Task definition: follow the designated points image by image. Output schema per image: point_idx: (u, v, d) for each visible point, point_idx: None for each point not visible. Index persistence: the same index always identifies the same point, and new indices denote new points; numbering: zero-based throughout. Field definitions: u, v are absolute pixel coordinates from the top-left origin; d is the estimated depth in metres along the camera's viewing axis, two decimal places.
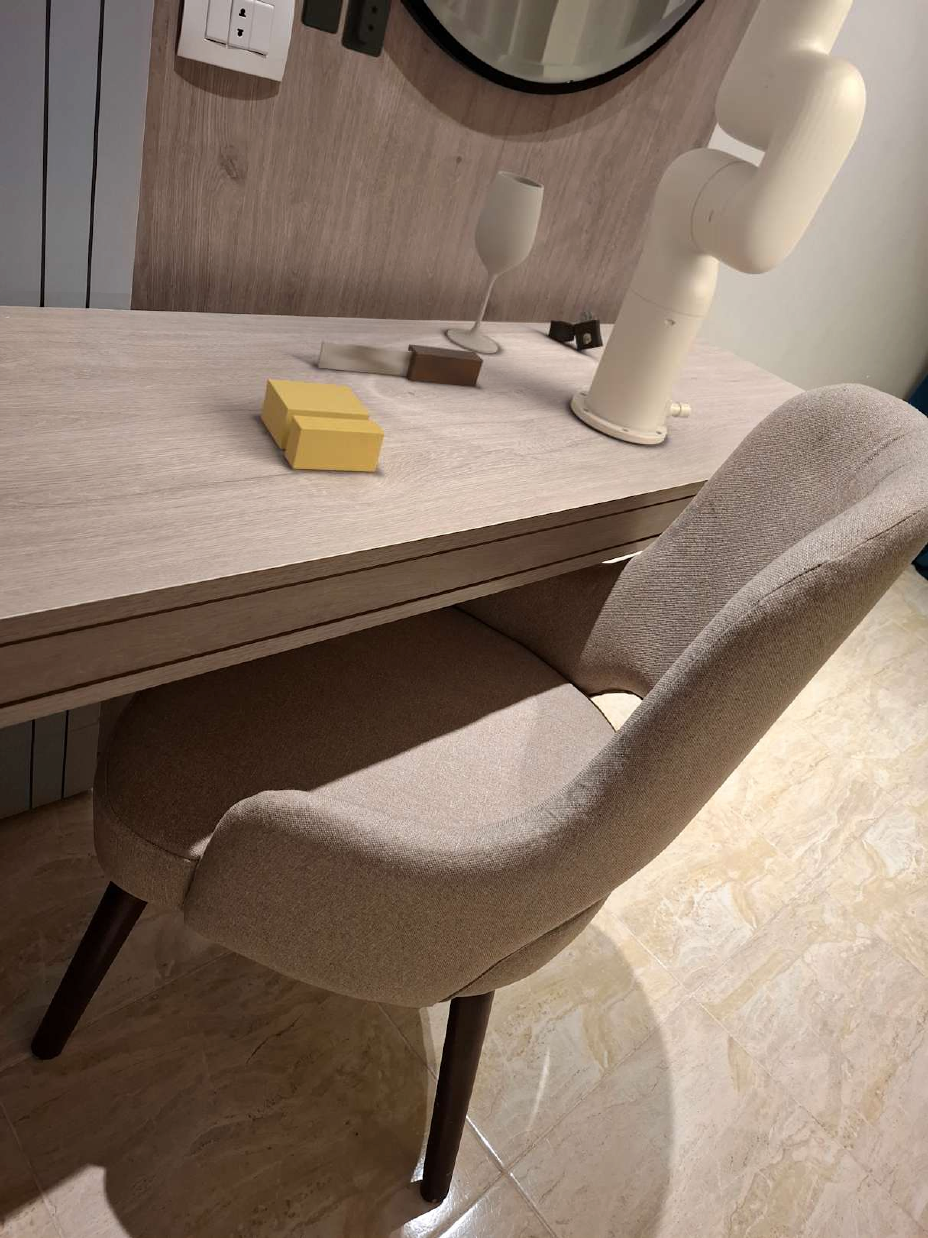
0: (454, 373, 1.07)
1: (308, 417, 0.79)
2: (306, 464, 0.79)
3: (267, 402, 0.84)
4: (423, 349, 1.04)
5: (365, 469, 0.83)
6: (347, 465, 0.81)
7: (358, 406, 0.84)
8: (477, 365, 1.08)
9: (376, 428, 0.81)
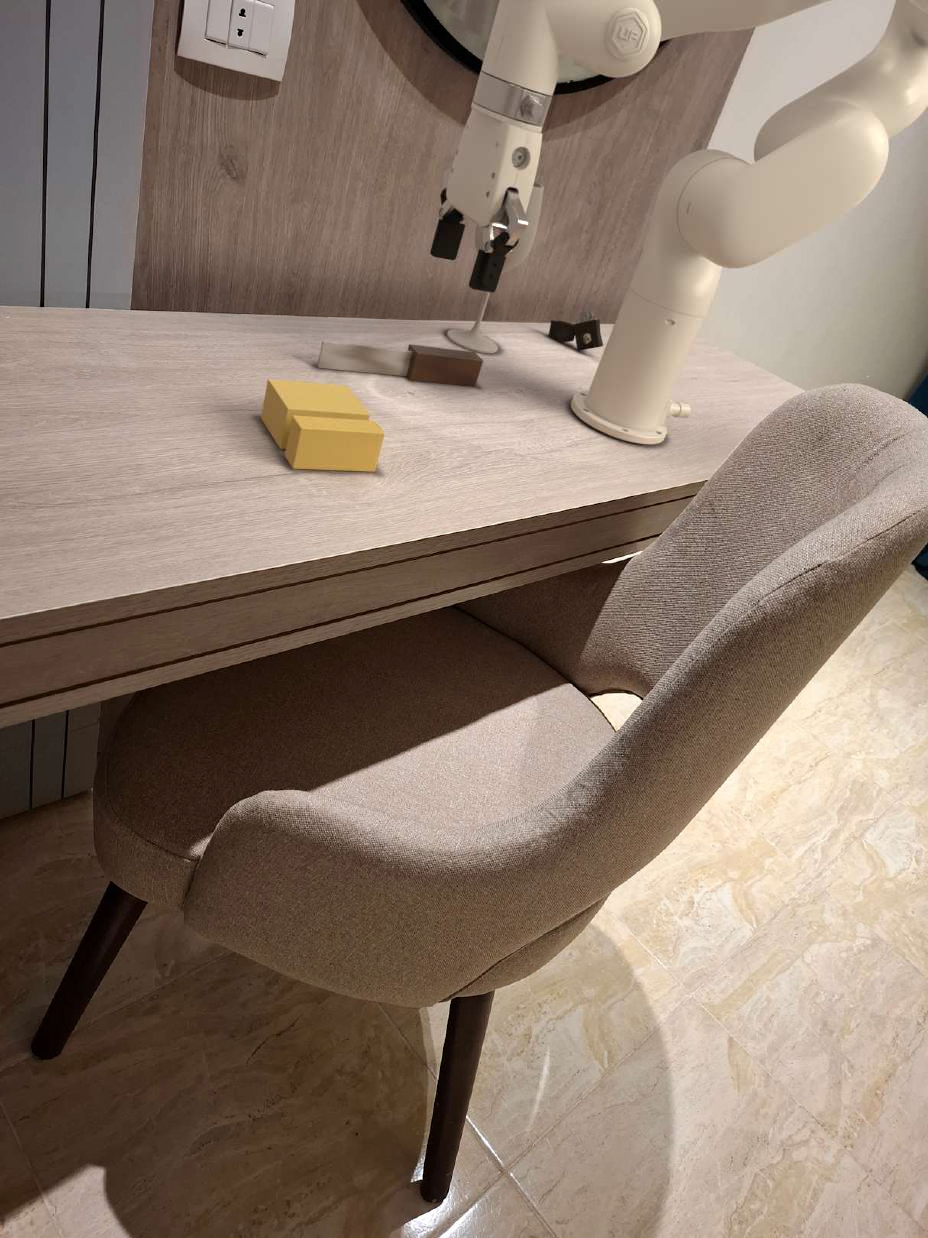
0: (454, 373, 1.07)
1: (308, 417, 0.79)
2: (306, 464, 0.79)
3: (267, 402, 0.84)
4: (423, 349, 1.04)
5: (365, 469, 0.83)
6: (347, 465, 0.81)
7: (358, 406, 0.84)
8: (477, 365, 1.08)
9: (376, 428, 0.81)
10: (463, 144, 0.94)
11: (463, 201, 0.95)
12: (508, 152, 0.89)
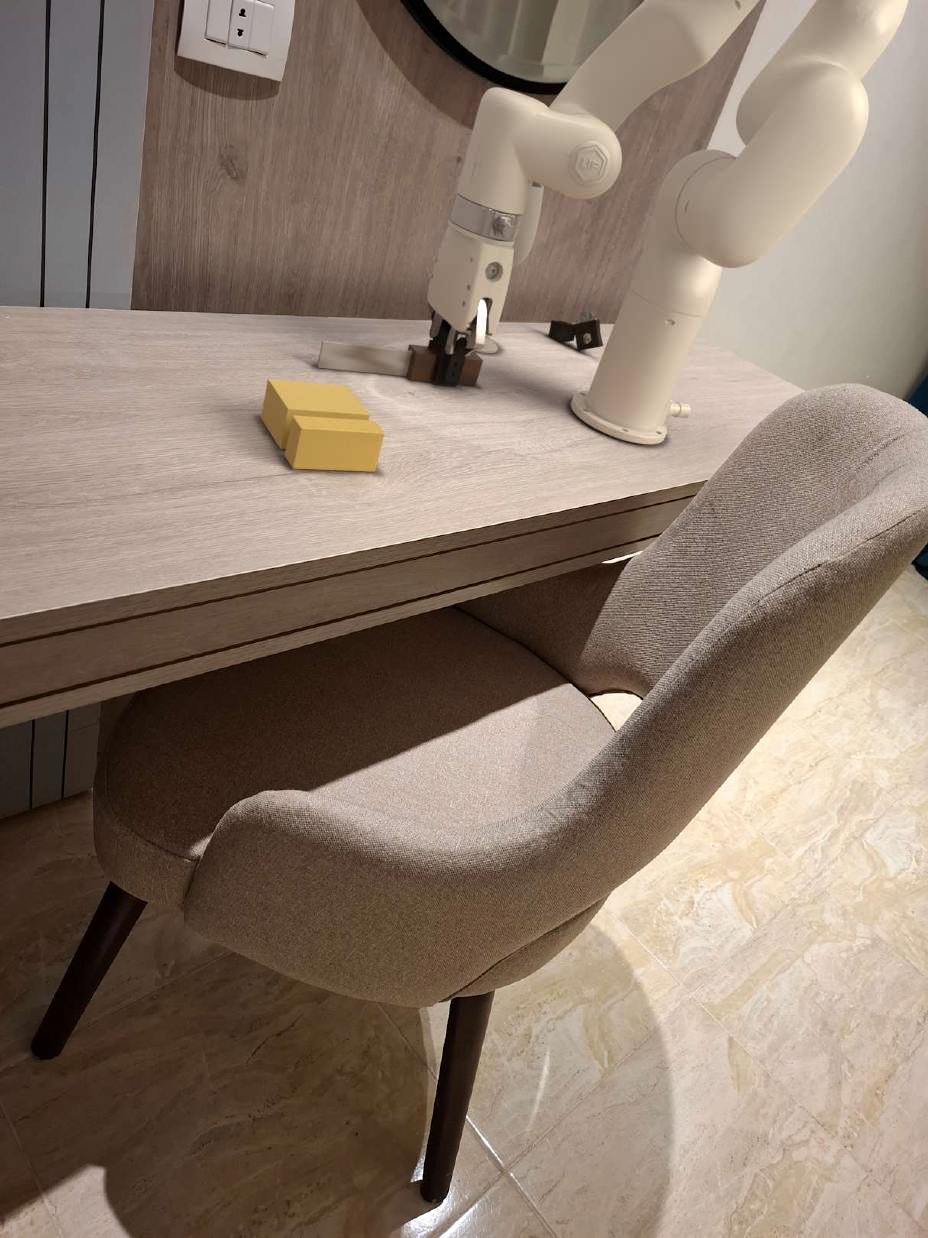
0: None
1: (308, 417, 0.79)
2: (306, 464, 0.79)
3: (267, 402, 0.84)
4: (422, 349, 1.04)
5: (365, 469, 0.83)
6: (347, 465, 0.81)
7: (358, 406, 0.84)
8: (477, 365, 1.08)
9: (376, 428, 0.81)
10: (442, 254, 1.01)
11: (442, 306, 1.02)
12: (482, 267, 0.96)
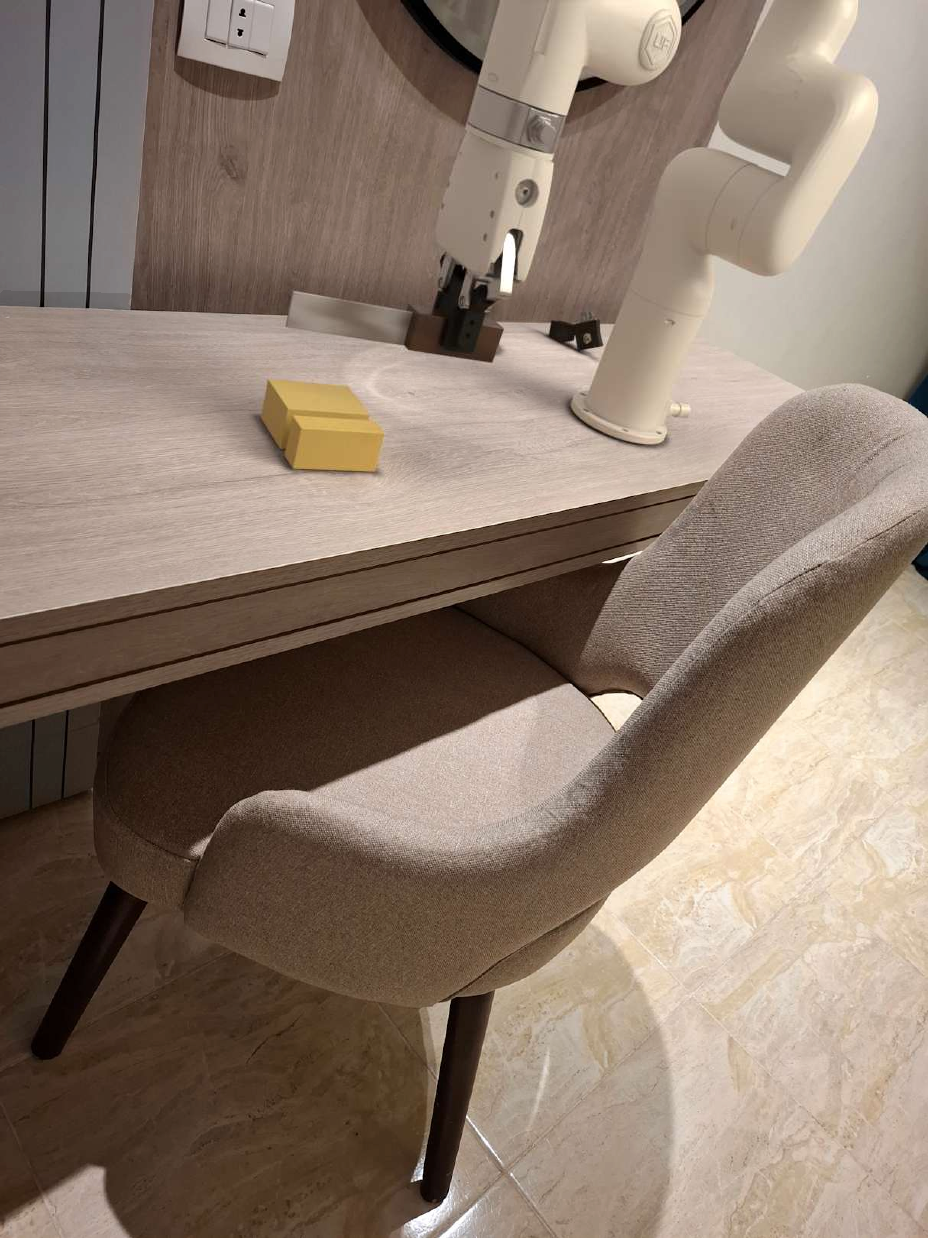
0: None
1: (308, 417, 0.79)
2: (306, 464, 0.79)
3: (267, 402, 0.84)
4: (426, 310, 0.80)
5: (365, 469, 0.83)
6: (347, 465, 0.81)
7: (358, 406, 0.84)
8: (496, 335, 0.83)
9: (376, 428, 0.81)
10: (456, 174, 0.76)
11: (455, 244, 0.77)
12: (511, 186, 0.71)
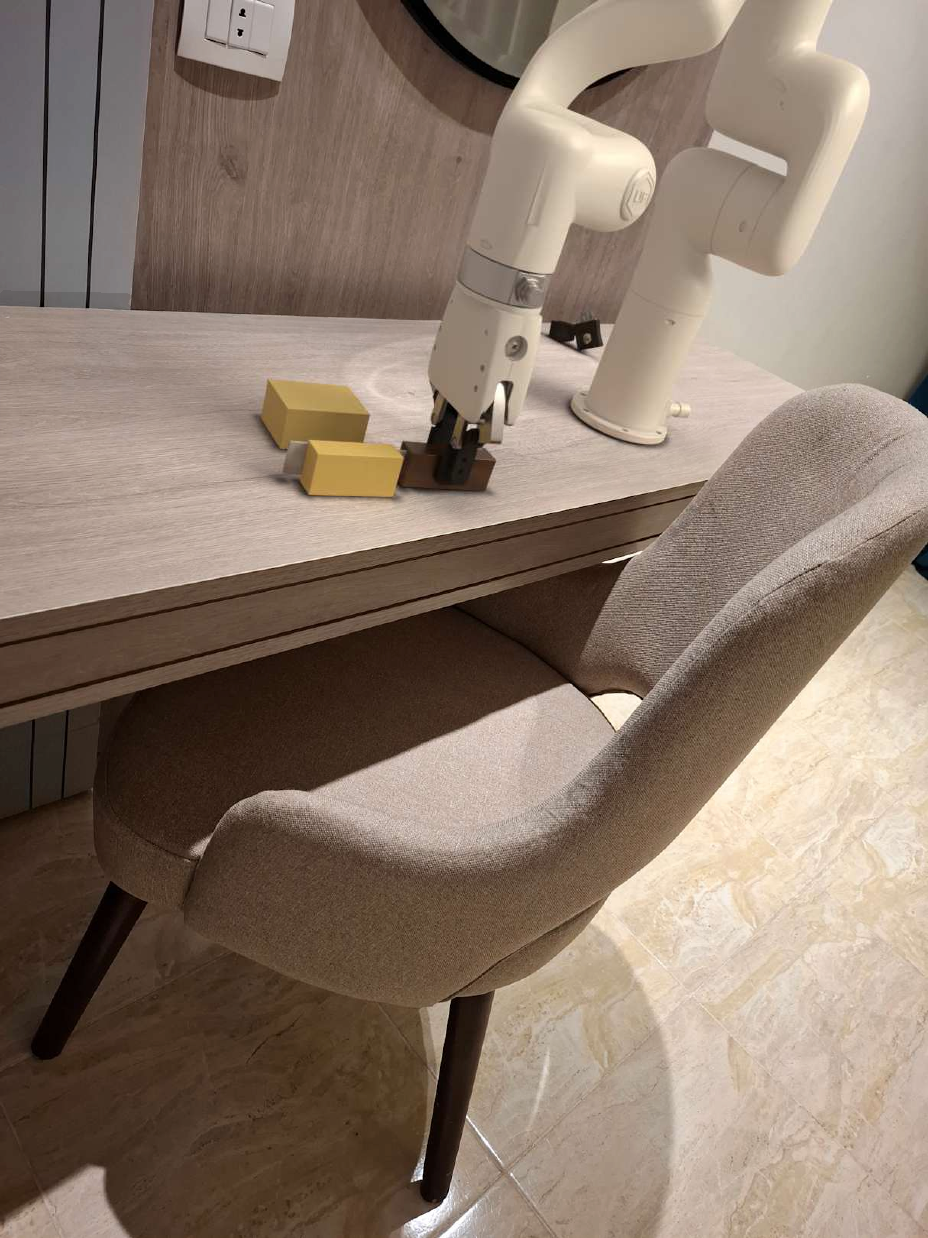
0: None
1: (325, 441, 0.76)
2: (322, 490, 0.77)
3: (267, 402, 0.84)
4: (420, 448, 0.81)
5: (383, 494, 0.80)
6: (365, 491, 0.79)
7: (358, 406, 0.84)
8: (488, 466, 0.85)
9: (395, 452, 0.78)
10: (447, 321, 0.78)
11: (447, 388, 0.79)
12: (500, 343, 0.73)
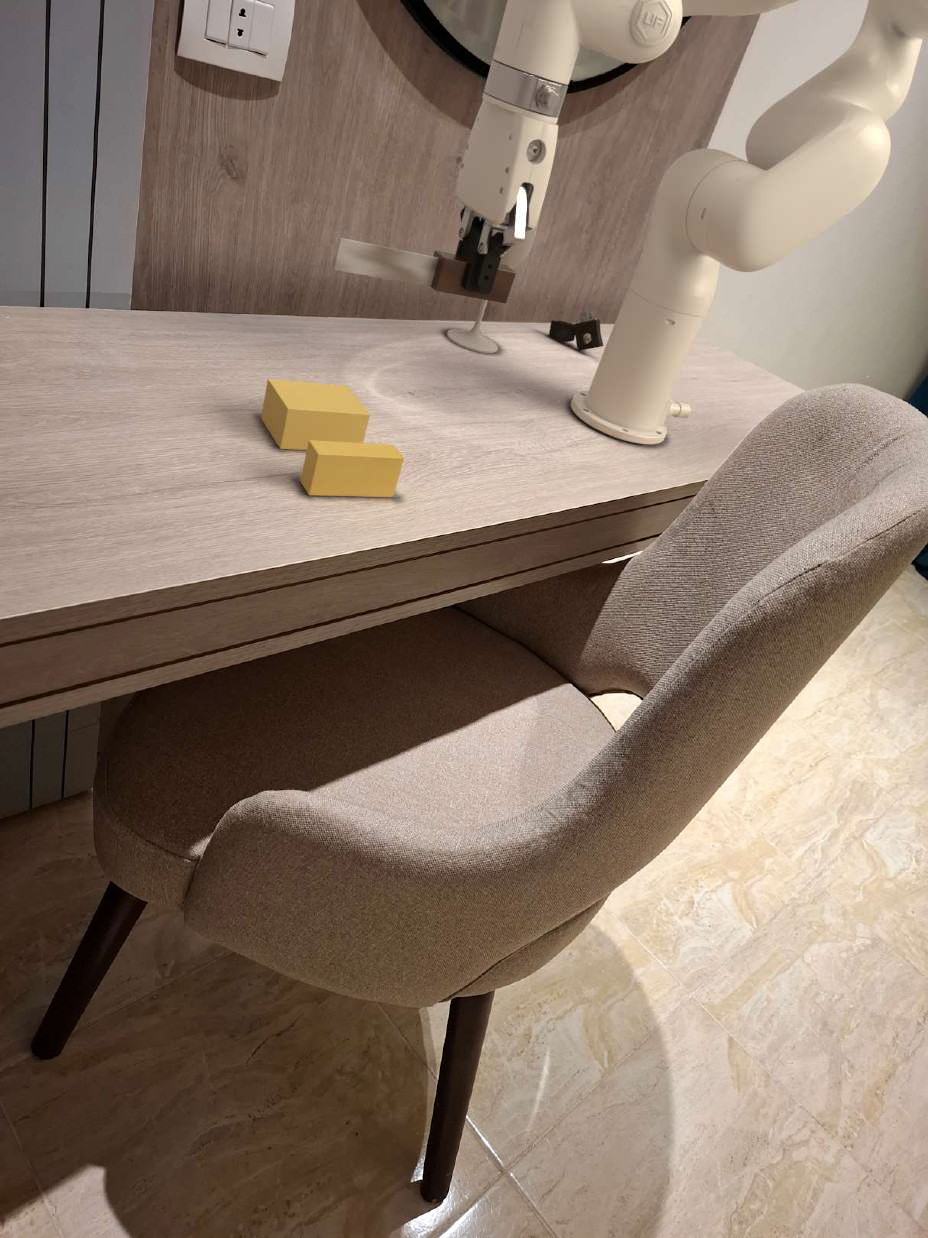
0: None
1: (325, 442, 0.76)
2: (323, 490, 0.76)
3: (267, 402, 0.84)
4: (450, 256, 0.93)
5: (383, 495, 0.80)
6: (365, 491, 0.79)
7: (358, 406, 0.84)
8: (509, 278, 0.96)
9: (395, 453, 0.78)
10: (474, 138, 0.89)
11: (475, 198, 0.90)
12: (523, 145, 0.84)
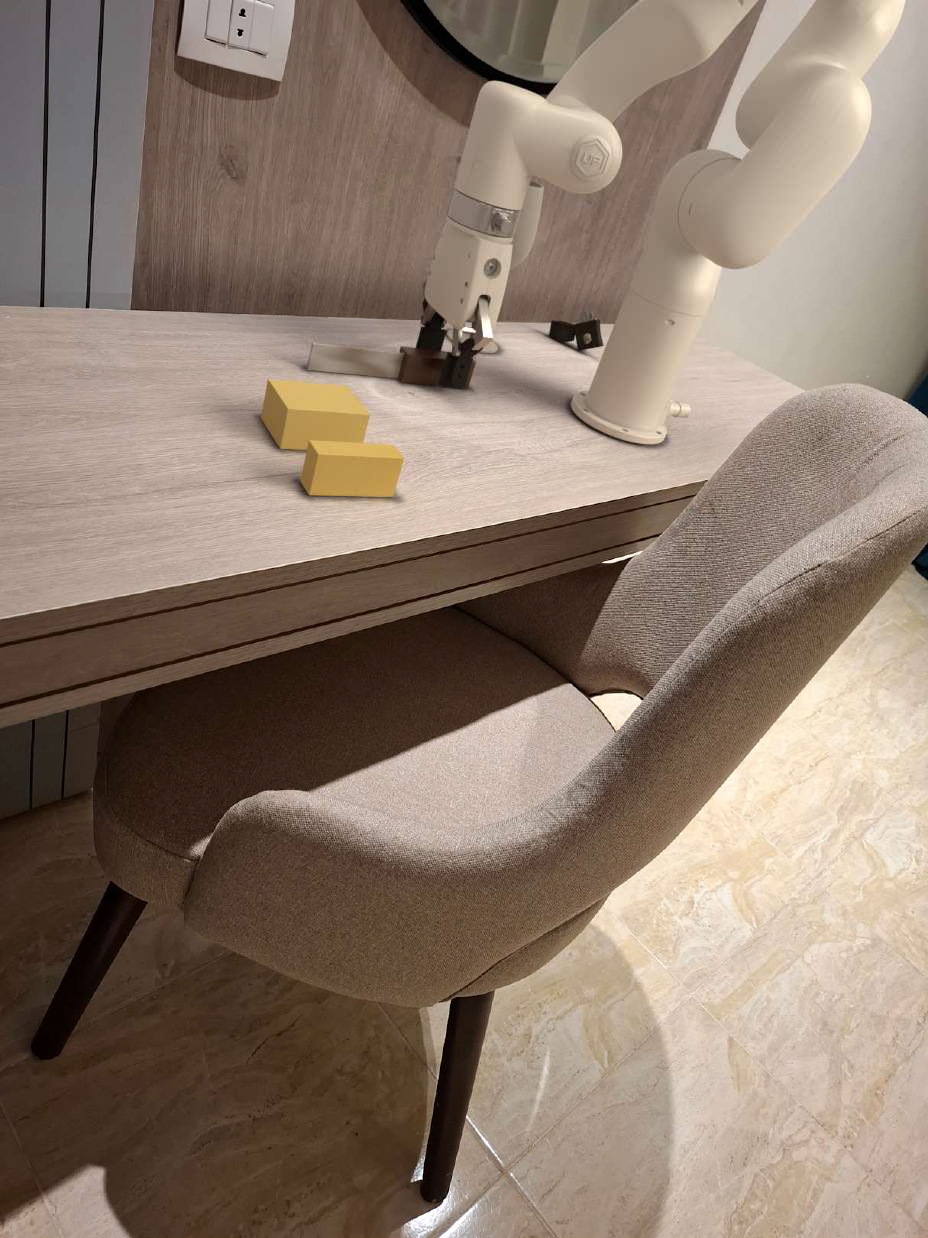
0: None
1: (325, 442, 0.76)
2: (323, 490, 0.76)
3: (267, 402, 0.84)
4: (414, 351, 1.03)
5: (383, 495, 0.80)
6: (365, 491, 0.79)
7: (358, 406, 0.84)
8: None
9: (395, 453, 0.78)
10: (439, 251, 1.00)
11: (439, 304, 1.01)
12: (480, 264, 0.95)
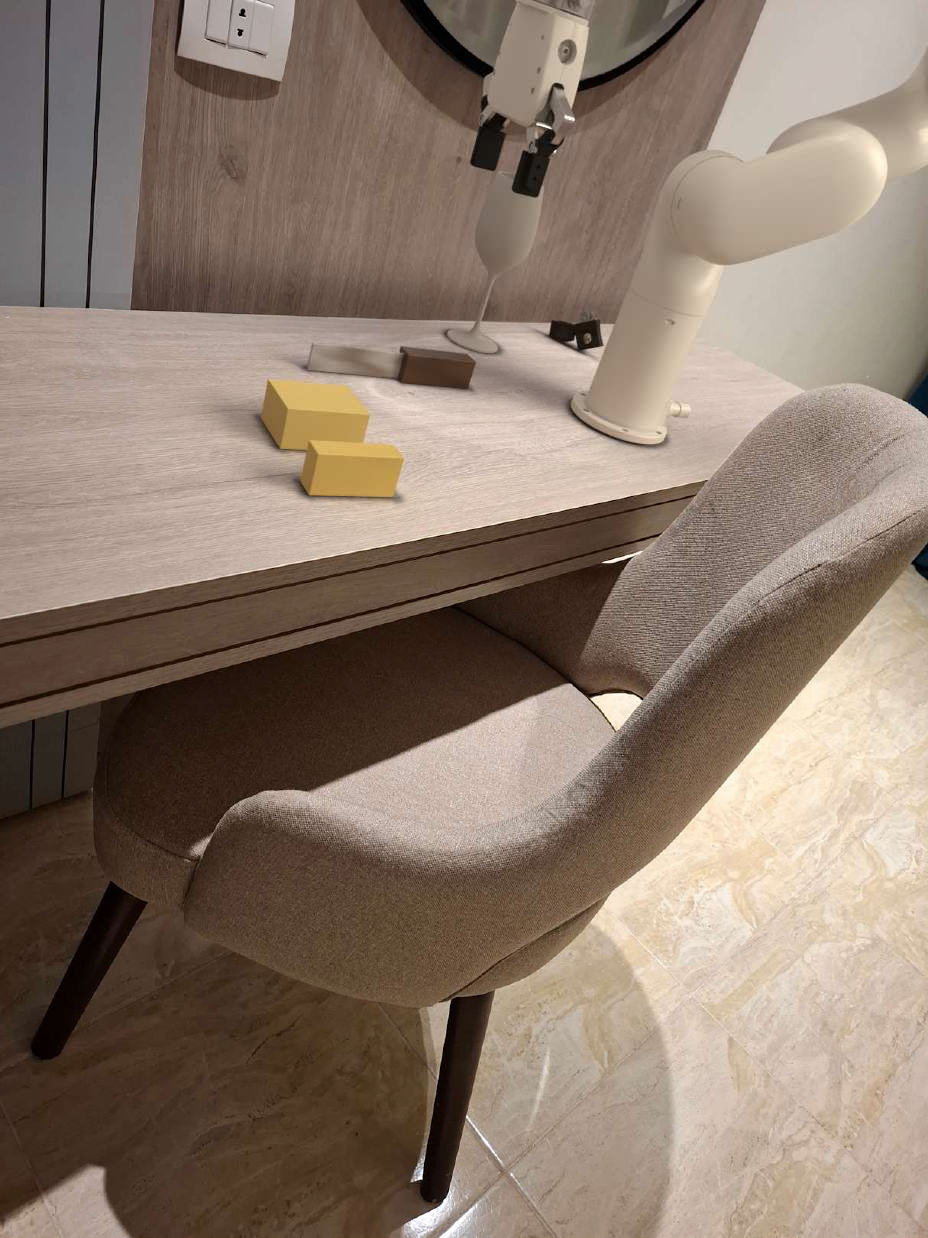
0: (446, 375, 1.05)
1: (325, 442, 0.76)
2: (323, 490, 0.76)
3: (267, 402, 0.84)
4: (414, 351, 1.03)
5: (383, 495, 0.80)
6: (365, 491, 0.79)
7: (358, 406, 0.84)
8: (470, 367, 1.06)
9: (395, 453, 0.78)
10: (506, 43, 0.92)
11: (506, 102, 0.93)
12: (554, 45, 0.87)
